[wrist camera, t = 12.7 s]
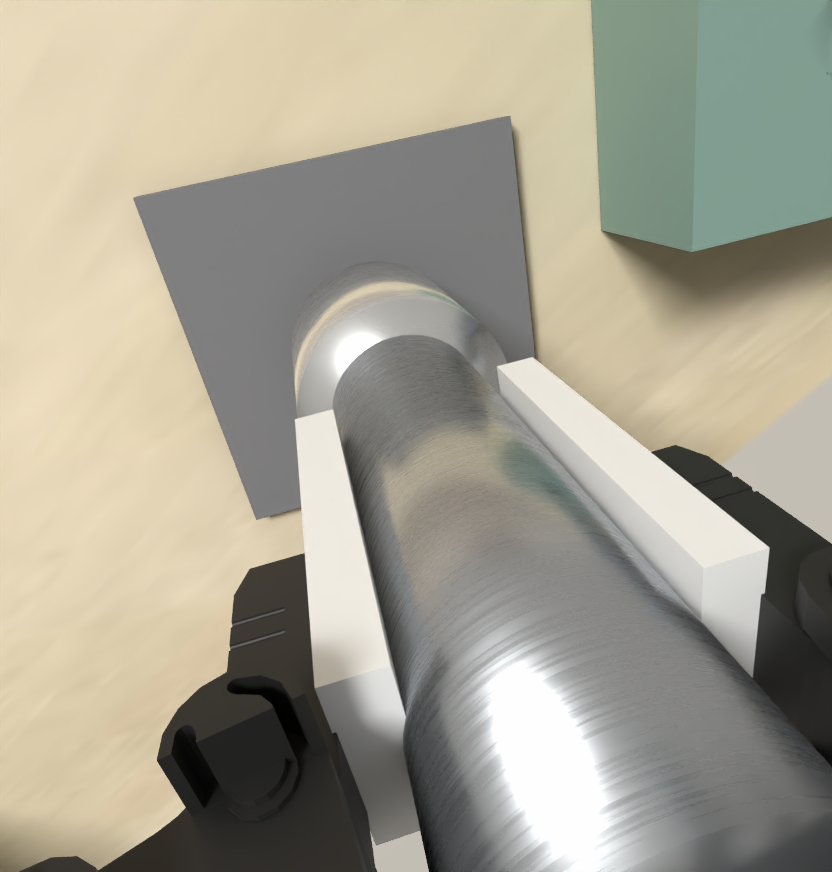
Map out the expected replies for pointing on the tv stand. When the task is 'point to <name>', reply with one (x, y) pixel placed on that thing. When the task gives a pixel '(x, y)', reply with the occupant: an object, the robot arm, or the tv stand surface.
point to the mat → (331, 267)
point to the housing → (712, 117)
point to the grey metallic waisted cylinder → (537, 624)
